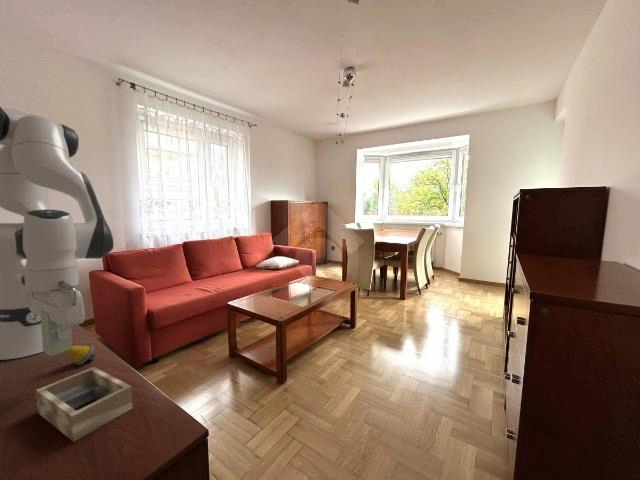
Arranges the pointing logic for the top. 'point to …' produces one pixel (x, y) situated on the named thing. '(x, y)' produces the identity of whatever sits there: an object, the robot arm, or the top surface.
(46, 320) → the peg
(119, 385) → the box
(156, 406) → the top surface
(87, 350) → the drill bit
